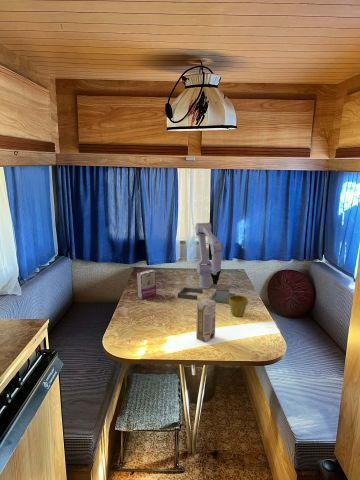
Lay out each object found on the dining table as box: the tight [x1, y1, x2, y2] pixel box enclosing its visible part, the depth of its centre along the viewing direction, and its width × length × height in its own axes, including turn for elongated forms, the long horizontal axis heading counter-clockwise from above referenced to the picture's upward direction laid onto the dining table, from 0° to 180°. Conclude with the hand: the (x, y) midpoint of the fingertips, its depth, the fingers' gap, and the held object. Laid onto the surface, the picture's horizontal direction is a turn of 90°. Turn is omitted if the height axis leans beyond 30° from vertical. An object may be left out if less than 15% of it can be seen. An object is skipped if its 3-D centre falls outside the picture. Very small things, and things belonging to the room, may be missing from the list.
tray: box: [209, 290, 237, 305], centre depth 229 cm, size 14×14×2 cm
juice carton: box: [195, 297, 217, 343], centre depth 176 cm, size 8×9×19 cm
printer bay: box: [177, 286, 204, 301], centre depth 235 cm, size 13×13×2 cm
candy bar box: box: [136, 269, 157, 300], centre depth 232 cm, size 11×5×16 cm, turn 129°
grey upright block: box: [215, 287, 230, 300], centre depth 228 cm, size 5×8×6 cm, turn 83°
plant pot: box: [228, 294, 249, 318], centre depth 204 cm, size 10×10×10 cm
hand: (215, 282), depth 232 cm, fingers open, 7 cm apart
